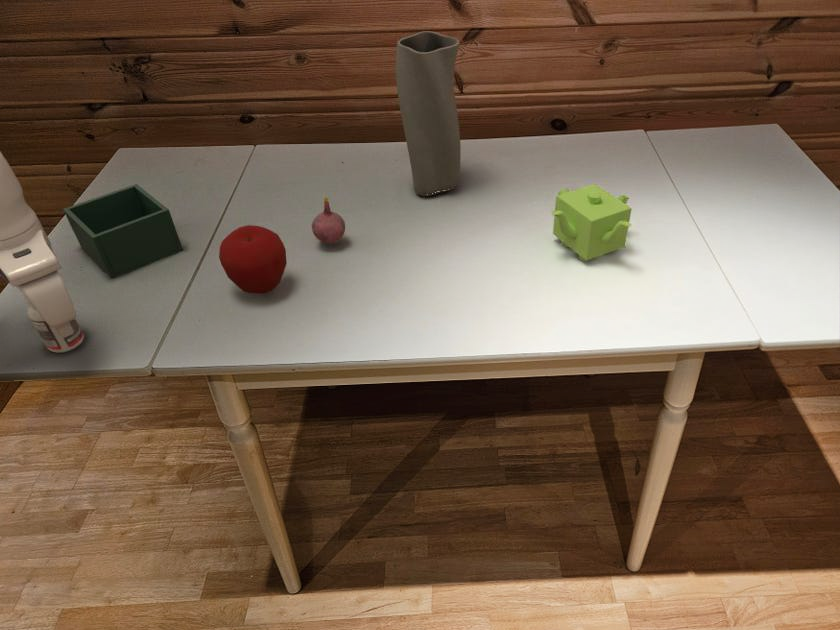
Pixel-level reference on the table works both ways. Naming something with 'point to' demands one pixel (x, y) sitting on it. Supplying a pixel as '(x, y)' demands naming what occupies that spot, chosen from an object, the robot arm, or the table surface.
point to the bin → (124, 230)
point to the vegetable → (328, 225)
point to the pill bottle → (54, 332)
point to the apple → (253, 259)
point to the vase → (429, 109)
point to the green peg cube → (591, 221)
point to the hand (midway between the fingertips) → (55, 319)
